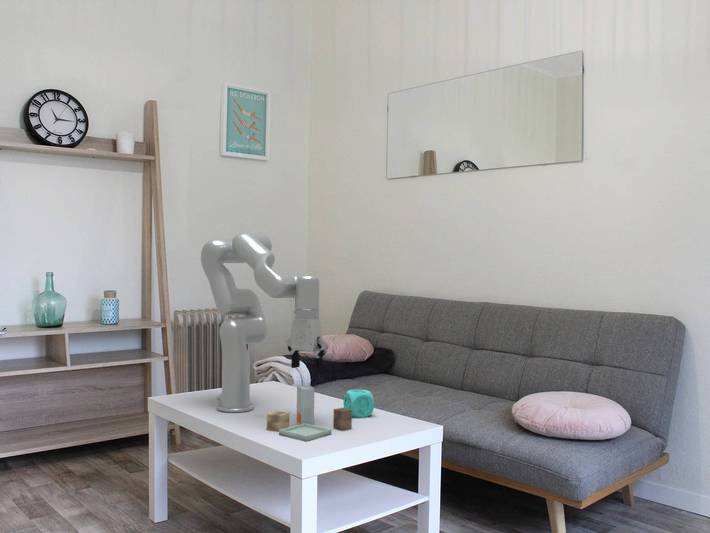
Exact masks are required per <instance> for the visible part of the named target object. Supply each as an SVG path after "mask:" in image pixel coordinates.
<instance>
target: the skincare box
mask: <svg viewBox="0 0 710 533" xmlns="http://www.w3.org/2000/svg"><path fill="white" fill-rule="evenodd" d="M296 423H297V425H300V424H304V423H306V424H310V425H315V388H314V387H313V386H312V385H309V384H303V385H302V384H301V385H296Z"/></svg>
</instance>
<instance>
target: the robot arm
mask: <svg viewBox="0 0 710 533" xmlns="http://www.w3.org/2000/svg"><path fill="white" fill-rule="evenodd" d="M272 248H273V245H272V240H271V239H270V238H269V236H267V234H264V233H261V232H249V231H245V232H244V231H243V232H239V233H238V234H235V235H234V236H233V238H232V239H230V238H229V239H228V238H214V239H210V240H208V241H206V242H205V244H204V245H203V247H202V249H201V251H200V264H201V267H202V270H203V272H204V274H205V276H206V278H207V281H208V283H209V287H210V290H211V293H212V296H213V300H214V303H215V306H216V308H217V309H216V310H217V312H218V313H219V314H220V315H222V316H224V317H230V318H227V319H226V320H224V321H223V322H222V323H221V325H220V326H219V337H220V345H221V355H222V357H221V358H222V359H221V361H222V362H221V365H222V366H221V368H222V369H221V393H219V395H216V397H215V399H216V400H217V401H219V404H217V405H216V410H218V411H220V412H222V413H224V412H225V413H244V412H250V411H252V410H254V408H255V405H254V404H253V403H251V402H250V393H251V392H250V388H251V387H250V386H251V384H250V383H251V382H250V381H251V380H250V379H251V372H250V371H251V356H250V353H249V349H248V348H247V347H246V345H252V344H258V343H261V342H263V341H264V340H265V339H266V338H267V335H268V325H267V322H266V318H265V315H264V311H263V309H262V306H261V303H260V299H259V297H258V295H257V294H256V292H254V290H251V289H249V288H238V286H237V285H236V283H235V279H234V276H233V275H232V273H231V271H230V270H229V269H228V268H227V267H226V266H225V265H224V264H244V263H245V264H247V265H248V267H249V268H251V269H252V270H253V276H254V281H255V283H256V285H257V286H258V287H259V288H260V289H261V290H262V291H263V292H264V293H265V294H267V295H268V296H269V297H271V298H273V299H295V300H294V302H295V303H294V304H295V306H294V307H295V308H294V309H295V310H294V311H293V314H294V317H295V318H293V320H292V323H291V329H290V338H288V339H287V340H286V341H285V343H286V346H287V349H288V351H289V355H290V357H291V358H290V359H291V360H290V361H291V366H290V367H291V369H297V368H299V367H300V364H301V363H300V360H301V359H300V358H301V356H300V352H309V353H311V352H312V354H314V356H315V357H314V358H313V371H314V372H318V371H319V372H321V371H322V370H323V358H325V355H326V354H327V351H328V349H329V347H330V345H329V343H328V342H327V341H325V340H324V339H323V330H322V322H321V319H320V278H319V277H318V276H315V275H300V274H277V273H275V272H274V270H272V267H273V266H274V264H275V261H276V255H275V254H274V253H273V252H272ZM235 316H238V317H235ZM240 316H241V317H240Z"/></svg>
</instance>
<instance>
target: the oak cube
mask: <svg viewBox="0 0 710 533" xmlns="http://www.w3.org/2000/svg"><path fill="white" fill-rule="evenodd" d="M288 427H290V412H287V411H279V410H275V411H274V410H273V411H271V412H269V413H267V414H266V431H269V432H278V433H279V430H280V429H284V428H288Z"/></svg>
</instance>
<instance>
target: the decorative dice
mask: <svg viewBox="0 0 710 533" xmlns="http://www.w3.org/2000/svg"><path fill="white" fill-rule="evenodd" d="M343 408H347V409H351V410H352V418H354V417H357V418H359V419H362V417H364V418H369V417H370V416H371V415H372V414H373V412H374V409H375V400H374V396H373V393H372V392H371V391H369V390H367V389H349V390H347V391H346V392H345V394H344V395H343ZM368 416H369V417H368ZM357 418H356V419H357Z"/></svg>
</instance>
